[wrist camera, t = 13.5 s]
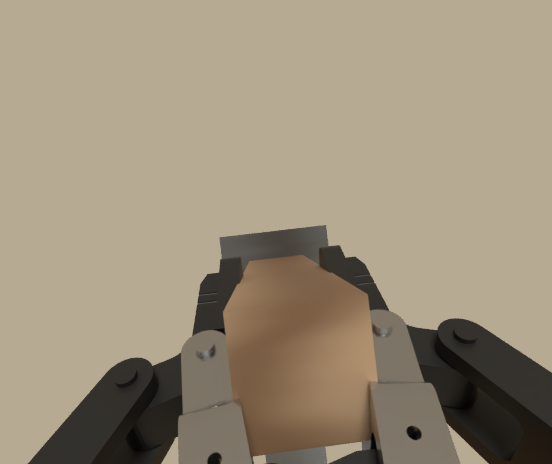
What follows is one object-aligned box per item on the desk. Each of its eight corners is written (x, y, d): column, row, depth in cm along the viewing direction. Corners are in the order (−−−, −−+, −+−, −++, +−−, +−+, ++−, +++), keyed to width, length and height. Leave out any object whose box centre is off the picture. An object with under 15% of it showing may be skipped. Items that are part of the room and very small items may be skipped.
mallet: (166, 468, 7) (140, 247, 7) (234, 303, 24) (227, 236, 24) (455, 428, 7) (430, 213, 7) (323, 292, 24) (315, 226, 24)
